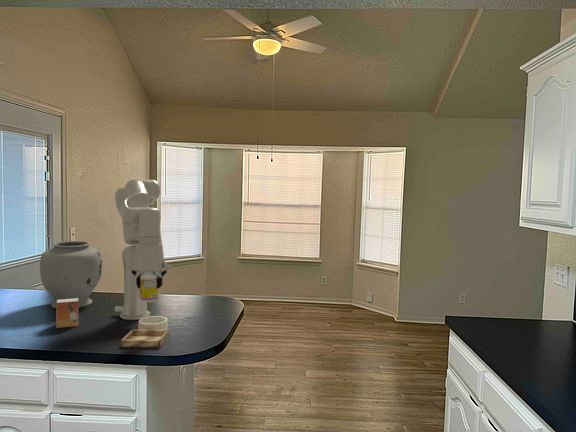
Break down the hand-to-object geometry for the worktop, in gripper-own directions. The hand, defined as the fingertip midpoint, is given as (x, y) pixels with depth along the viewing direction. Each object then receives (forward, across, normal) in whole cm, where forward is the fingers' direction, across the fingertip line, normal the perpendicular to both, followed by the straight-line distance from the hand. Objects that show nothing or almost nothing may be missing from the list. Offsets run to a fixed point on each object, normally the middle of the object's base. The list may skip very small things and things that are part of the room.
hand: (149, 287), depth 160 cm
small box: (+19, -37, +14) cm, 44 cm away
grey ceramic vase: (+17, -49, +46) cm, 70 cm away
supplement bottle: (+5, 0, 0) cm, 5 cm away
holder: (+19, -1, +10) cm, 22 cm away
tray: (+20, 0, -3) cm, 20 cm away
